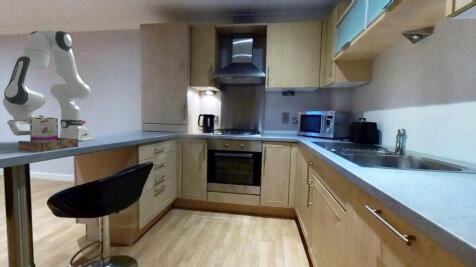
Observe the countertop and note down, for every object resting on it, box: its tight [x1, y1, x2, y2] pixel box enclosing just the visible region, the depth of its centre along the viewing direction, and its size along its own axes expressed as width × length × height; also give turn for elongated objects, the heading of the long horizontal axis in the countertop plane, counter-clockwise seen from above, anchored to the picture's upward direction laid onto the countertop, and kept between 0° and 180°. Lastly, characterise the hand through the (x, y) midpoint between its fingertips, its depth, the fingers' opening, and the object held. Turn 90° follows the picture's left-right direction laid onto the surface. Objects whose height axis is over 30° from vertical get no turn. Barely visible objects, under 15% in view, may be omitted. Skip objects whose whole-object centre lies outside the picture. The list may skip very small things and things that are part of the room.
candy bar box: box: [29, 116, 59, 142], centre depth 124 cm, size 11×5×16 cm, turn 137°
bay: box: [18, 137, 79, 152], centre depth 126 cm, size 21×13×4 cm, turn 170°
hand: (42, 139), depth 127 cm, fingers closed
